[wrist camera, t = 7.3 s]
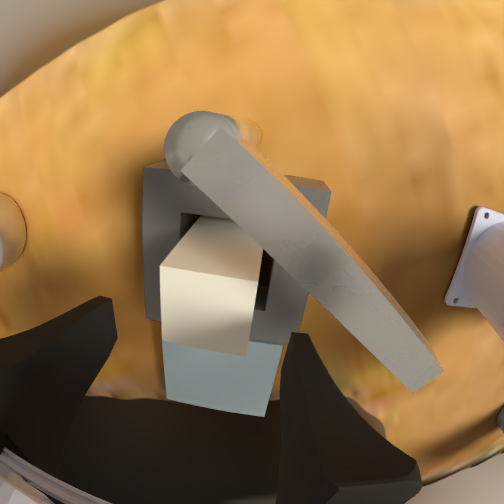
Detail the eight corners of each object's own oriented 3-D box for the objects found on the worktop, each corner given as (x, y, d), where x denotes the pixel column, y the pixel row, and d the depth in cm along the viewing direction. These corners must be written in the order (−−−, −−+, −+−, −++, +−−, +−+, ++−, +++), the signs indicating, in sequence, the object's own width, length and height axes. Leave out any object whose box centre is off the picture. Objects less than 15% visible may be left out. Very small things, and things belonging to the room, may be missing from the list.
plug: (267, 219, 19) (258, 281, 12) (258, 275, 21) (246, 356, 13) (204, 210, 19) (159, 265, 12) (201, 266, 21) (162, 340, 14)
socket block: (323, 181, 18) (331, 191, 15) (293, 318, 22) (294, 344, 19) (163, 160, 18) (143, 167, 15) (160, 295, 22) (146, 318, 19)
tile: (283, 333, 22) (283, 345, 21) (264, 404, 26) (264, 416, 25) (167, 313, 23) (160, 324, 21) (171, 387, 26) (166, 398, 25)
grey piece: (220, 136, 17) (150, 151, 8) (244, 112, 16) (198, 95, 7) (361, 280, 20) (408, 395, 10) (384, 261, 19) (447, 368, 10)
